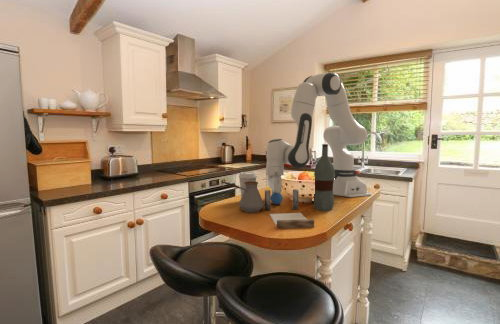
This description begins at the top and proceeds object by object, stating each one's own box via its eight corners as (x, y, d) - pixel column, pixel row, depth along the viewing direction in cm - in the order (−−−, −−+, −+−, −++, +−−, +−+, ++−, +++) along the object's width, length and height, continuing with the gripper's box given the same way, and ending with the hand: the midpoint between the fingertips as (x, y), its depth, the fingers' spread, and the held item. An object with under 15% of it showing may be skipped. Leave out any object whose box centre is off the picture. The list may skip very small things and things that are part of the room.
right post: (297, 208, 133) (297, 189, 132) (298, 209, 130) (299, 190, 129) (291, 208, 133) (292, 189, 132) (293, 209, 130) (293, 190, 129)
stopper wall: (312, 225, 109) (312, 219, 109) (314, 227, 107) (314, 220, 107) (276, 226, 107) (276, 220, 107) (277, 228, 105) (277, 222, 105)
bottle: (319, 204, 139) (321, 143, 135) (337, 208, 132) (339, 144, 129) (309, 208, 132) (310, 144, 129) (327, 212, 126) (329, 145, 122)
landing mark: (300, 213, 125) (300, 212, 125) (310, 223, 111) (310, 223, 111) (269, 214, 123) (269, 214, 123) (275, 225, 109) (275, 224, 109)
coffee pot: (252, 205, 138) (252, 175, 136) (269, 210, 130) (269, 178, 128) (216, 214, 124) (215, 180, 123) (232, 220, 116) (231, 184, 114)
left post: (269, 209, 131) (269, 190, 130) (270, 210, 129) (270, 191, 128) (264, 209, 131) (264, 190, 130) (265, 210, 129) (265, 191, 128)
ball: (280, 200, 144) (281, 189, 142) (283, 205, 139) (284, 194, 137) (269, 201, 143) (269, 190, 141) (272, 207, 138) (272, 195, 136)
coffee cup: (240, 199, 150) (240, 171, 149) (258, 199, 149) (258, 171, 147) (237, 203, 141) (236, 174, 139) (256, 204, 140) (256, 174, 138)
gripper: (285, 174, 133) (284, 203, 134) (277, 168, 153) (276, 193, 154) (272, 174, 132) (271, 203, 133) (265, 168, 152) (265, 193, 154)
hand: (274, 198), depth 144 cm, fingers closed
